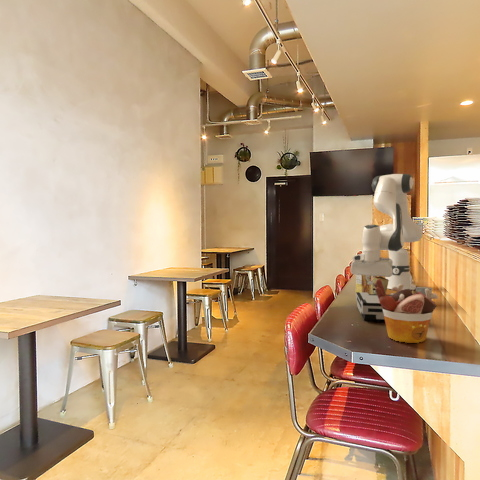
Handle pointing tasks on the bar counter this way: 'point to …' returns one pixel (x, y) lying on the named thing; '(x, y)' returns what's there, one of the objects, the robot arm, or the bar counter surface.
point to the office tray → (369, 306)
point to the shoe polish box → (384, 282)
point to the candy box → (362, 284)
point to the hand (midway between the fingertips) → (370, 284)
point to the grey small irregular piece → (423, 290)
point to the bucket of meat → (406, 313)
